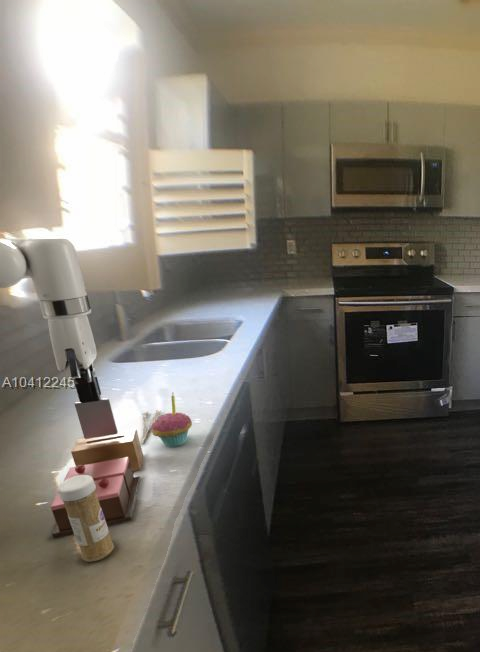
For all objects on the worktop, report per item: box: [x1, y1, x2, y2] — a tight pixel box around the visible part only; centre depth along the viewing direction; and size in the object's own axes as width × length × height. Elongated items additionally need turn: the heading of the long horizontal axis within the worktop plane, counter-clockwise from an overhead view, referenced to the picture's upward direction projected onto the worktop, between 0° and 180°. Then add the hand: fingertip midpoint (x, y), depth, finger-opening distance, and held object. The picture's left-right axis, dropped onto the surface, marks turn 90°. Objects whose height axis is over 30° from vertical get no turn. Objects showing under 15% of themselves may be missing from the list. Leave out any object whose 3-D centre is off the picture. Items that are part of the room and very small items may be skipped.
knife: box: [73, 370, 118, 439], centre depth 92 cm, size 6×2×14 cm, turn 110°
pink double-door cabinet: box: [50, 457, 142, 539], centre depth 84 cm, size 12×14×7 cm
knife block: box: [70, 428, 144, 473], centre depth 96 cm, size 11×6×7 cm, turn 111°
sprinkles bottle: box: [57, 475, 115, 563], centre depth 71 cm, size 5×5×13 cm
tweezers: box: [141, 409, 162, 445], centre depth 115 cm, size 17×5×2 cm, turn 18°
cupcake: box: [151, 392, 193, 448], centre depth 105 cm, size 9×8×12 cm
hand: (90, 398), depth 91 cm, fingers closed on knife, 1 cm apart
